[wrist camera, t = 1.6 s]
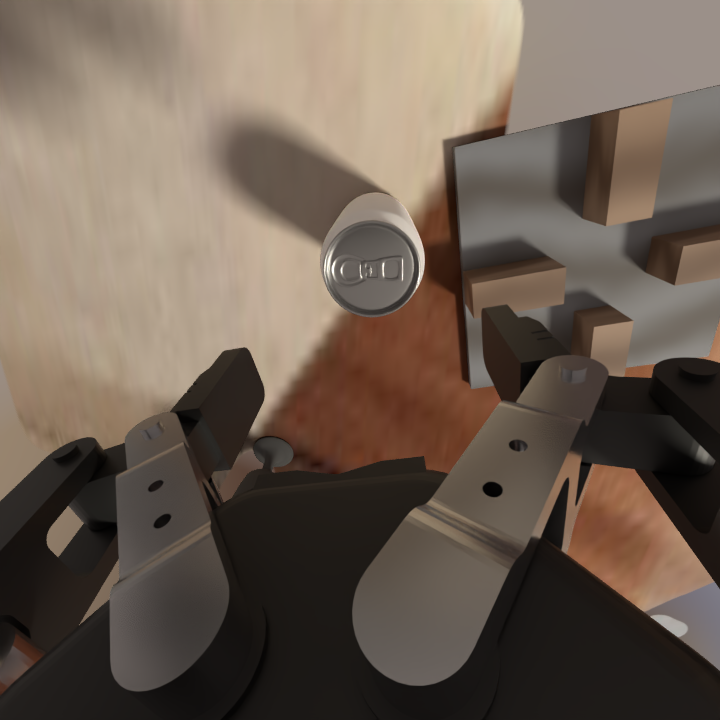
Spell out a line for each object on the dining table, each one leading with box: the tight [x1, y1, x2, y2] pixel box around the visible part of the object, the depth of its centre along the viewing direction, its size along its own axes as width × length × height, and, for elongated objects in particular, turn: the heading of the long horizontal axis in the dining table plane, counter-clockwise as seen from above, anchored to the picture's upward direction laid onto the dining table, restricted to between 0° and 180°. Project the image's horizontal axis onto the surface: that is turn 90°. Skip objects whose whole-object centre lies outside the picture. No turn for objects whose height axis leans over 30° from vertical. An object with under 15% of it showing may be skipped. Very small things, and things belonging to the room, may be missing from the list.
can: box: [320, 192, 425, 317], centre depth 26 cm, size 6×6×12 cm
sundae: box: [232, 437, 293, 498], centre depth 38 cm, size 7×7×15 cm
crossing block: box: [452, 85, 720, 389], centre depth 29 cm, size 22×22×4 cm
